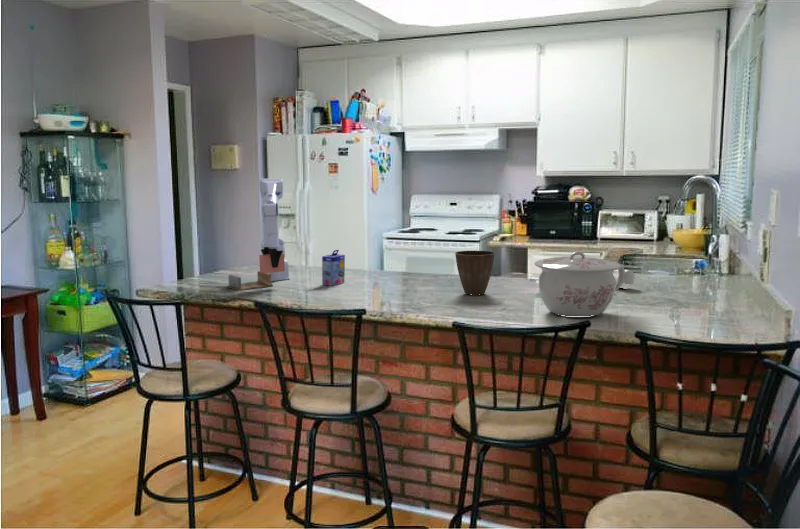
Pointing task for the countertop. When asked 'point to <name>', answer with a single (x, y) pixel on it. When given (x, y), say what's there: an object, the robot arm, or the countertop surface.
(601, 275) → the chamber pot
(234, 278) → the gray rectangular bar
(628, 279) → the white plastic bottle
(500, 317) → the countertop surface
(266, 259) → the pink rectangular pillar
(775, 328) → the countertop surface
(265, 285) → the shelf
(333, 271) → the ink cartridge box
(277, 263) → the robot arm
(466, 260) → the plant pot
